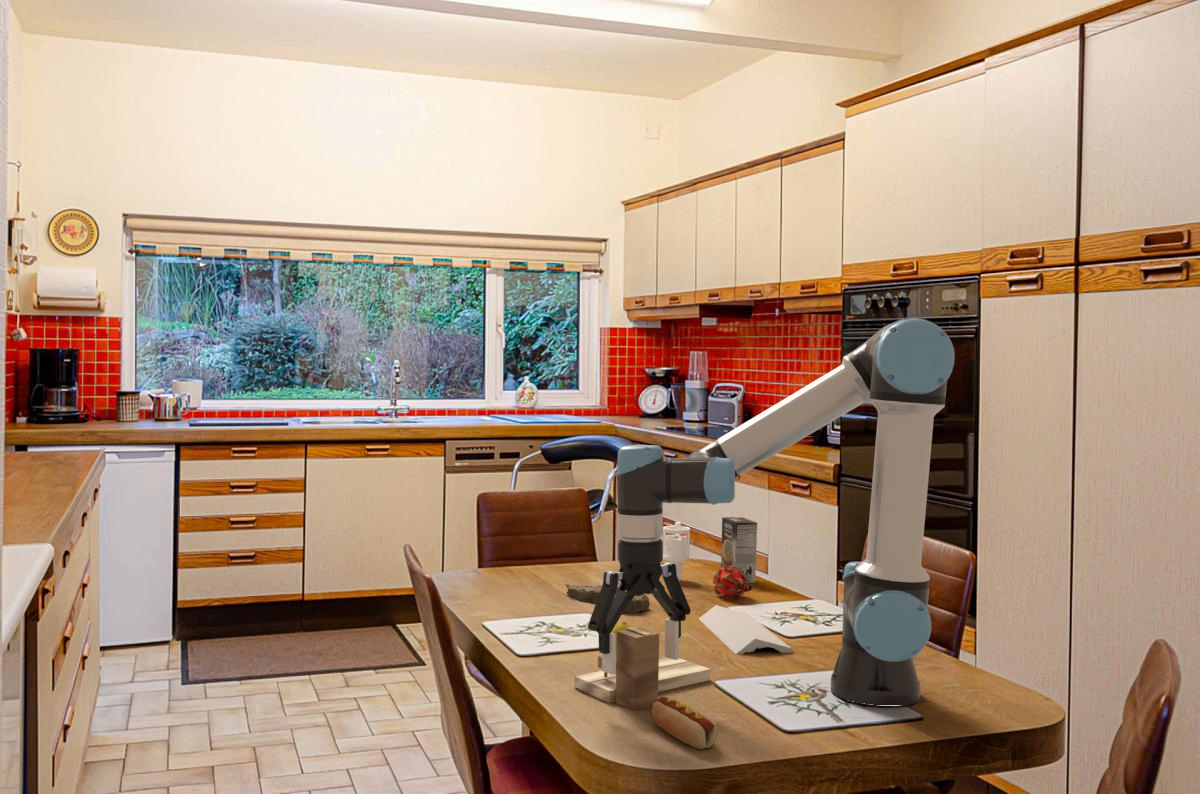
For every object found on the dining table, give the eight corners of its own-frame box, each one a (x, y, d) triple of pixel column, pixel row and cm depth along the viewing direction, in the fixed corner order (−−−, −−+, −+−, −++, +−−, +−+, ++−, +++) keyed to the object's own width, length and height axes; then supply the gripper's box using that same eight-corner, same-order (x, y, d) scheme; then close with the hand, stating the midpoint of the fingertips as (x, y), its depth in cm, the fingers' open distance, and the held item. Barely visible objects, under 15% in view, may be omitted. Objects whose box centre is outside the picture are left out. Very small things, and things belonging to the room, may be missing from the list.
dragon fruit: (723, 597, 266) (741, 615, 254) (699, 579, 263) (716, 597, 252) (744, 570, 266) (763, 587, 255) (720, 552, 263) (738, 568, 252)
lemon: (628, 669, 196) (629, 626, 196) (603, 664, 199) (603, 622, 199) (643, 662, 201) (644, 620, 201) (618, 657, 204) (619, 616, 204)
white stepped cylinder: (690, 578, 281) (691, 522, 281) (686, 583, 274) (687, 526, 274) (664, 576, 283) (665, 520, 282) (659, 581, 276) (661, 524, 275)
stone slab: (666, 606, 246) (663, 585, 245) (629, 623, 238) (626, 601, 238) (591, 591, 266) (588, 572, 265) (555, 606, 258) (551, 587, 258)
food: (725, 750, 156) (726, 716, 156) (694, 756, 154) (695, 722, 154) (674, 721, 169) (675, 690, 168) (645, 726, 166) (645, 695, 166)
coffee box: (719, 576, 284) (721, 517, 284) (741, 575, 286) (743, 516, 285) (733, 583, 275) (735, 522, 275) (756, 582, 277) (757, 521, 277)
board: (710, 680, 190) (710, 668, 190) (609, 702, 176) (609, 690, 176) (673, 666, 198) (673, 655, 198) (574, 687, 184) (574, 675, 184)
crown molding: (794, 655, 210) (795, 637, 210) (735, 657, 208) (736, 639, 208) (749, 620, 239) (750, 604, 239) (697, 621, 237) (697, 605, 237)
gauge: (658, 705, 176) (659, 631, 175) (634, 710, 173) (636, 636, 172) (613, 686, 185) (614, 617, 185) (590, 691, 182) (591, 620, 182)
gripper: (681, 528, 186) (682, 647, 187) (565, 543, 171) (567, 673, 171) (710, 533, 180) (711, 656, 181) (593, 549, 165) (595, 684, 166)
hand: (641, 665), depth 176 cm, fingers open, 13 cm apart
